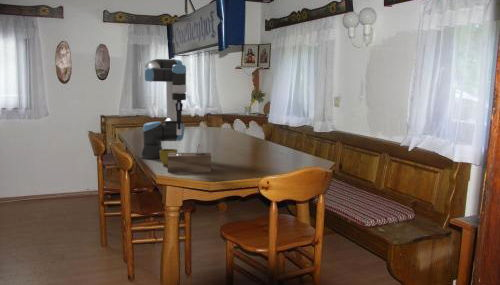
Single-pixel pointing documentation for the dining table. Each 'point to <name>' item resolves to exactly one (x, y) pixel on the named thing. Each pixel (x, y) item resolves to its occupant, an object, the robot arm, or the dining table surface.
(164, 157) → the flower pot
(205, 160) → the tan grooved block
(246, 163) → the dining table surface
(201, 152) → the peg
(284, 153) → the dining table surface
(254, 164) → the dining table surface
